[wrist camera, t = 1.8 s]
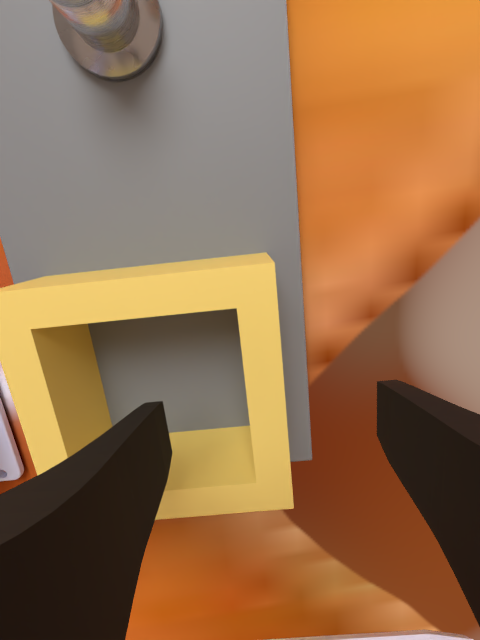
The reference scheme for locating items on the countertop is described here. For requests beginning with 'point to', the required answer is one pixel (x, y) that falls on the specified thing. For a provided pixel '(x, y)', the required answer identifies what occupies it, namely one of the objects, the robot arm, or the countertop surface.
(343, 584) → the countertop surface
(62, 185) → the keeper board
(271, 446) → the link
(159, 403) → the robot arm
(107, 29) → the metal drawer knob
